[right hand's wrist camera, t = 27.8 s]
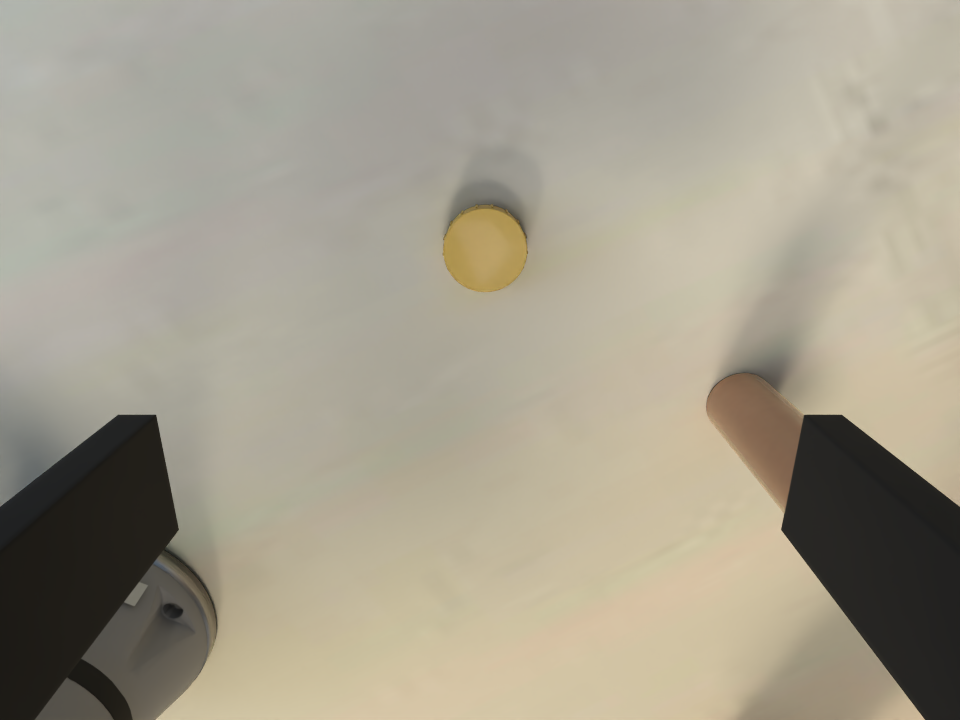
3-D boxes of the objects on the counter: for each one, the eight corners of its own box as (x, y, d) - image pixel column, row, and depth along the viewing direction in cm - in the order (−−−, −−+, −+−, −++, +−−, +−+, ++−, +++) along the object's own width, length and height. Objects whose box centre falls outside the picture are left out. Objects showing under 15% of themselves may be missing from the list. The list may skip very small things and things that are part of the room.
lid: (450, 196, 36) (448, 200, 35) (533, 210, 37) (536, 214, 35) (438, 278, 38) (436, 285, 36) (518, 291, 38) (519, 299, 37)
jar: (765, 433, 42) (920, 596, 27) (701, 431, 42) (821, 594, 27) (778, 373, 40) (949, 511, 26) (711, 371, 40) (844, 508, 26)
